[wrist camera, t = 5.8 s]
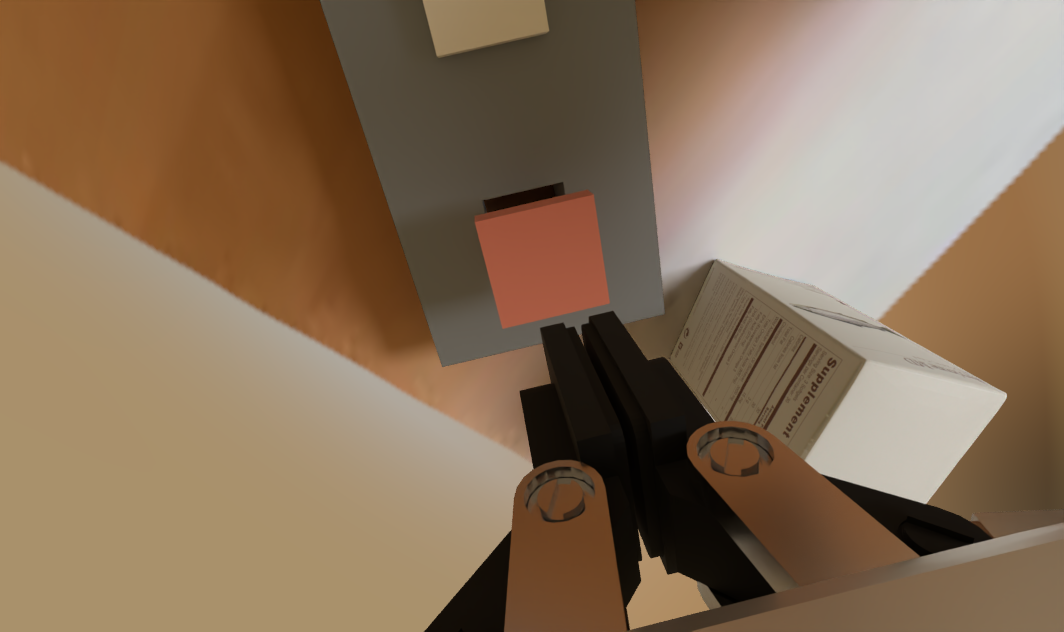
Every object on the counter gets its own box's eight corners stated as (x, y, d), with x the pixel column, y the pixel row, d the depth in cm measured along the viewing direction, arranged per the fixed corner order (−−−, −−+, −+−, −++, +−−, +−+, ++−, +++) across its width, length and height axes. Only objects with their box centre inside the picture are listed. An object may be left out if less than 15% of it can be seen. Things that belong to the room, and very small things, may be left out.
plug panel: (584, -203, 20) (609, -269, 16) (640, 286, 29) (664, 314, 26) (294, -141, 20) (255, -193, 16) (445, 332, 29) (442, 366, 26)
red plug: (572, 177, 21) (593, 194, 18) (588, 270, 23) (609, 303, 20) (473, 200, 21) (474, 222, 18) (497, 291, 23) (502, 329, 19)
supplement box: (815, 282, 31) (1020, 395, 19) (760, 381, 33) (911, 531, 22) (712, 253, 29) (871, 357, 18) (663, 359, 32) (773, 509, 20)
